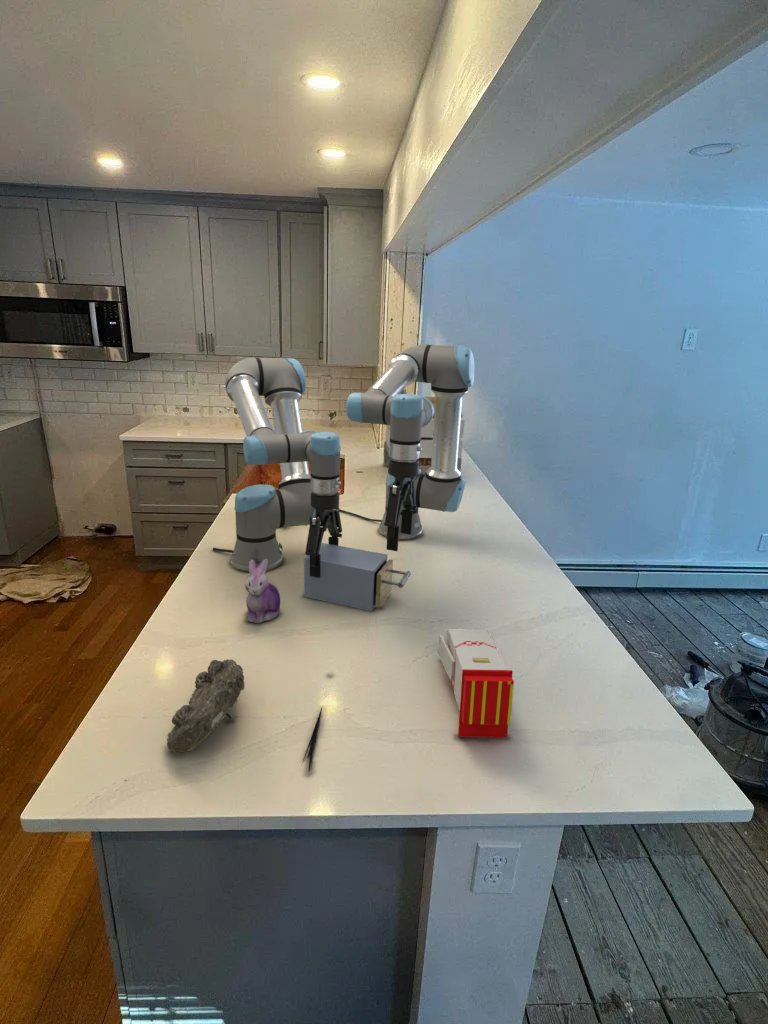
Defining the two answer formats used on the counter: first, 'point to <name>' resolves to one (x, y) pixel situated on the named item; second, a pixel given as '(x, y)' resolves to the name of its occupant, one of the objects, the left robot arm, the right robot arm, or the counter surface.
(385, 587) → the drawer
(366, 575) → the cabinet
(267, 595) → the figurine
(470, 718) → the toy
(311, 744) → the feather
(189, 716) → the fossil
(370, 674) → the counter surface
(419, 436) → the right robot arm
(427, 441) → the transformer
